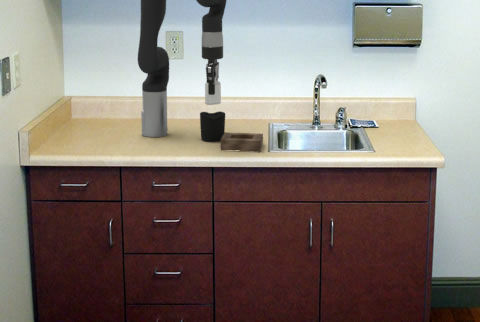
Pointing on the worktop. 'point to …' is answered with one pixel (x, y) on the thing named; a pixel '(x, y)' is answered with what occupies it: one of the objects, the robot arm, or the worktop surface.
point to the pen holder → (212, 126)
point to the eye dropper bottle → (217, 96)
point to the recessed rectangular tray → (242, 141)
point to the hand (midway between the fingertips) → (212, 93)
